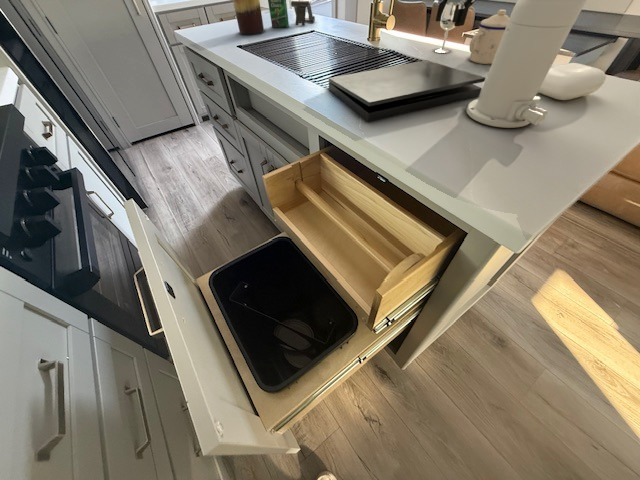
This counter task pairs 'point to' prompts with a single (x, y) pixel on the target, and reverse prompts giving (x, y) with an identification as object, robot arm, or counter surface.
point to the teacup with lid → (488, 38)
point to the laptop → (406, 101)
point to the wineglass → (448, 21)
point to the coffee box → (278, 13)
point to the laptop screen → (403, 82)
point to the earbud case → (571, 81)
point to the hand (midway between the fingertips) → (449, 22)
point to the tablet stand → (302, 11)
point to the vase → (249, 16)
